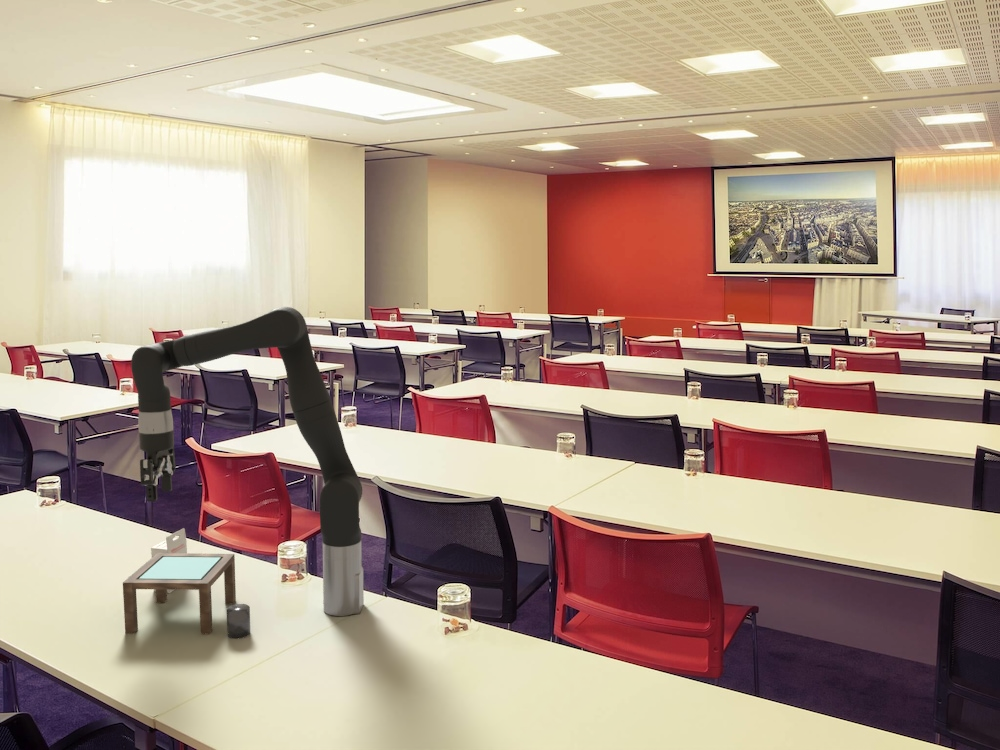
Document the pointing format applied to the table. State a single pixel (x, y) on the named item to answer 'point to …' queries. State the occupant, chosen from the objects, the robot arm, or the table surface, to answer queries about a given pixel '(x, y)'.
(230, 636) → the cylinder
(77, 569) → the table surface
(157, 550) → the ink cartridge box
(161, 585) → the miniature wooden table
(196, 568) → the trapdoor
